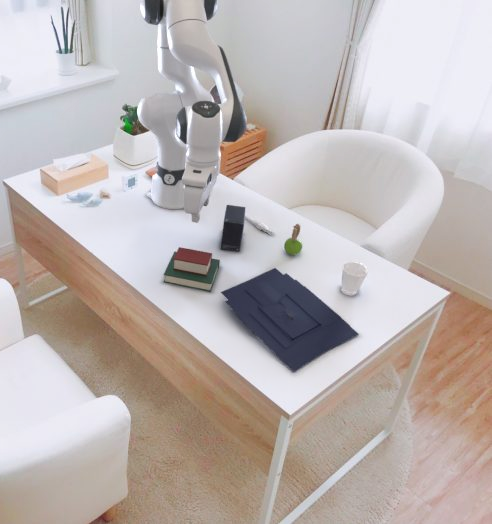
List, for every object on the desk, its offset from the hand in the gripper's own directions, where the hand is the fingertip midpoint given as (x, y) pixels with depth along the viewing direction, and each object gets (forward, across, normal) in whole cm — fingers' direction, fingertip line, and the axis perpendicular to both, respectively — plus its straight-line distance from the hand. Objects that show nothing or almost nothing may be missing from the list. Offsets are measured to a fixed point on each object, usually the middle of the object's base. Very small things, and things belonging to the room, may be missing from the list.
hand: (200, 212), depth 157 cm
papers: (+23, +10, +27) cm, 37 cm away
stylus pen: (+21, -34, +11) cm, 42 cm away
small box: (+22, -22, +6) cm, 31 cm away
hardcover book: (+22, 0, -2) cm, 22 cm away
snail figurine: (+22, -22, +24) cm, 39 cm away
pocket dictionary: (+19, 0, -2) cm, 19 cm away
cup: (+23, -10, +43) cm, 50 cm away
